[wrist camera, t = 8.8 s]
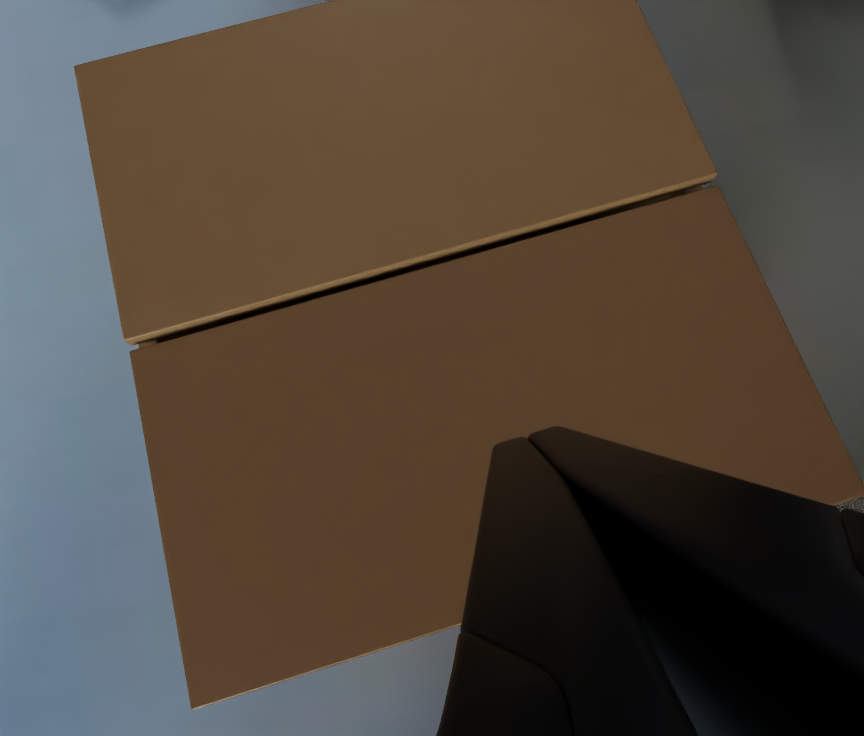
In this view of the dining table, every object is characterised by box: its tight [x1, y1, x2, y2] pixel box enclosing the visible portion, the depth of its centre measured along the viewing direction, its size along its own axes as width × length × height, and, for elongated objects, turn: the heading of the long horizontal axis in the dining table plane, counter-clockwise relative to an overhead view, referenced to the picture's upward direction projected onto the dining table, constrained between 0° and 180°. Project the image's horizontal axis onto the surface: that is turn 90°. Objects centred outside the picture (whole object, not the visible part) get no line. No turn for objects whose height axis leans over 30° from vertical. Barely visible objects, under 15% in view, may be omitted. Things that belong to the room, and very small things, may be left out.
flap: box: [130, 186, 864, 710], centre depth 12 cm, size 6×12×1 cm, turn 107°
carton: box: [74, 0, 717, 349], centre depth 17 cm, size 13×12×9 cm
